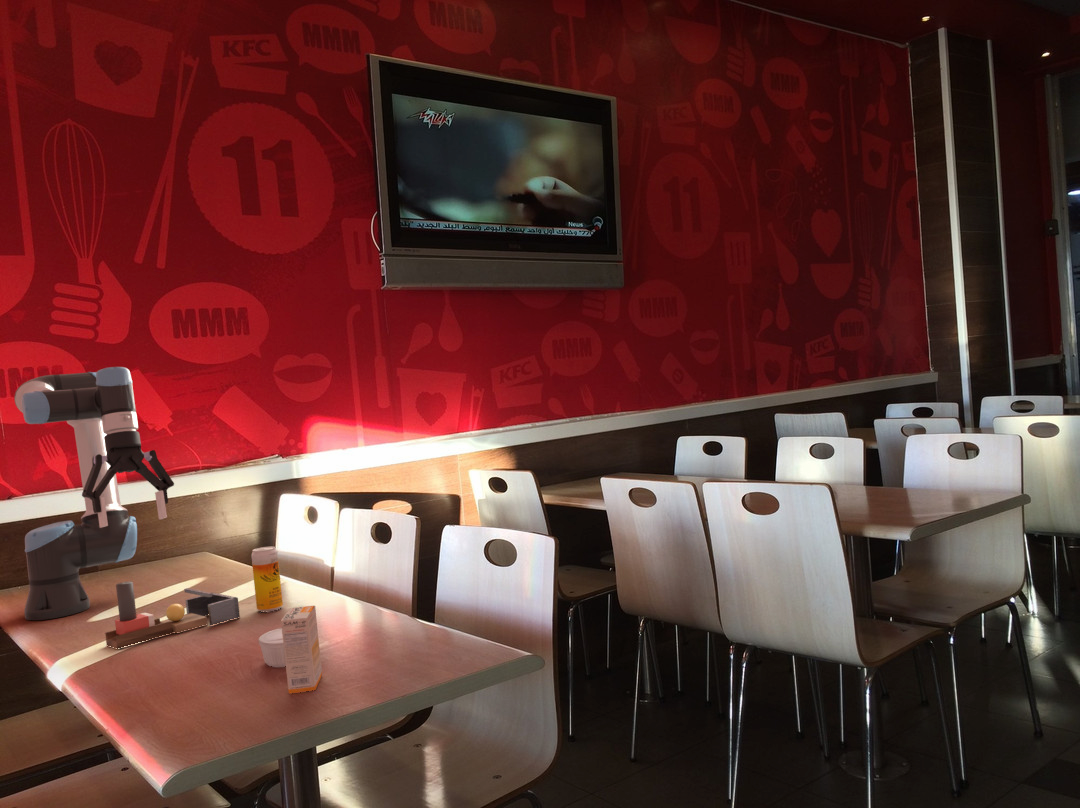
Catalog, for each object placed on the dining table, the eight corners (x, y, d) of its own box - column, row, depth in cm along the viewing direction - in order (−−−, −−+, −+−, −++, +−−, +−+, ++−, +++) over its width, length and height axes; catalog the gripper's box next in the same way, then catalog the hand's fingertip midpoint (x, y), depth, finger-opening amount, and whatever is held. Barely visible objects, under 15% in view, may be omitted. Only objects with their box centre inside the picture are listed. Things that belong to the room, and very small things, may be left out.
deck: (160, 629, 204) (159, 621, 204) (191, 621, 210) (190, 613, 210) (176, 634, 199) (175, 625, 199) (207, 625, 204) (206, 616, 204)
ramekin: (288, 672, 164) (285, 644, 164) (248, 666, 170) (245, 639, 170) (332, 653, 174) (329, 627, 174) (292, 648, 180) (290, 623, 179)
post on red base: (116, 633, 195) (111, 584, 195) (146, 625, 200) (141, 577, 200) (124, 636, 192) (119, 586, 192) (155, 627, 197) (149, 579, 197)
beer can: (275, 612, 211) (269, 550, 210) (252, 613, 212) (245, 552, 211) (287, 605, 217) (281, 545, 216) (265, 606, 218) (258, 546, 217)
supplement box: (296, 678, 160) (288, 607, 159) (323, 675, 160) (315, 604, 160) (287, 694, 152) (279, 619, 151) (315, 691, 152) (307, 616, 152)
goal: (187, 620, 211) (184, 588, 211) (215, 612, 216) (211, 582, 216) (212, 626, 203) (208, 593, 203) (239, 618, 208) (236, 586, 208)
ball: (163, 622, 203) (162, 605, 203) (180, 617, 206) (178, 600, 206) (171, 624, 200) (170, 607, 200) (188, 619, 203) (186, 602, 203)
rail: (106, 646, 194) (105, 632, 194) (160, 631, 203) (158, 618, 203) (118, 649, 190) (116, 636, 190) (172, 634, 199) (170, 621, 199)
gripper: (71, 433, 195) (84, 528, 192) (180, 426, 213) (193, 512, 211) (58, 439, 200) (70, 532, 197) (166, 432, 218) (178, 517, 216)
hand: (134, 522), depth 204 cm, fingers open, 13 cm apart
